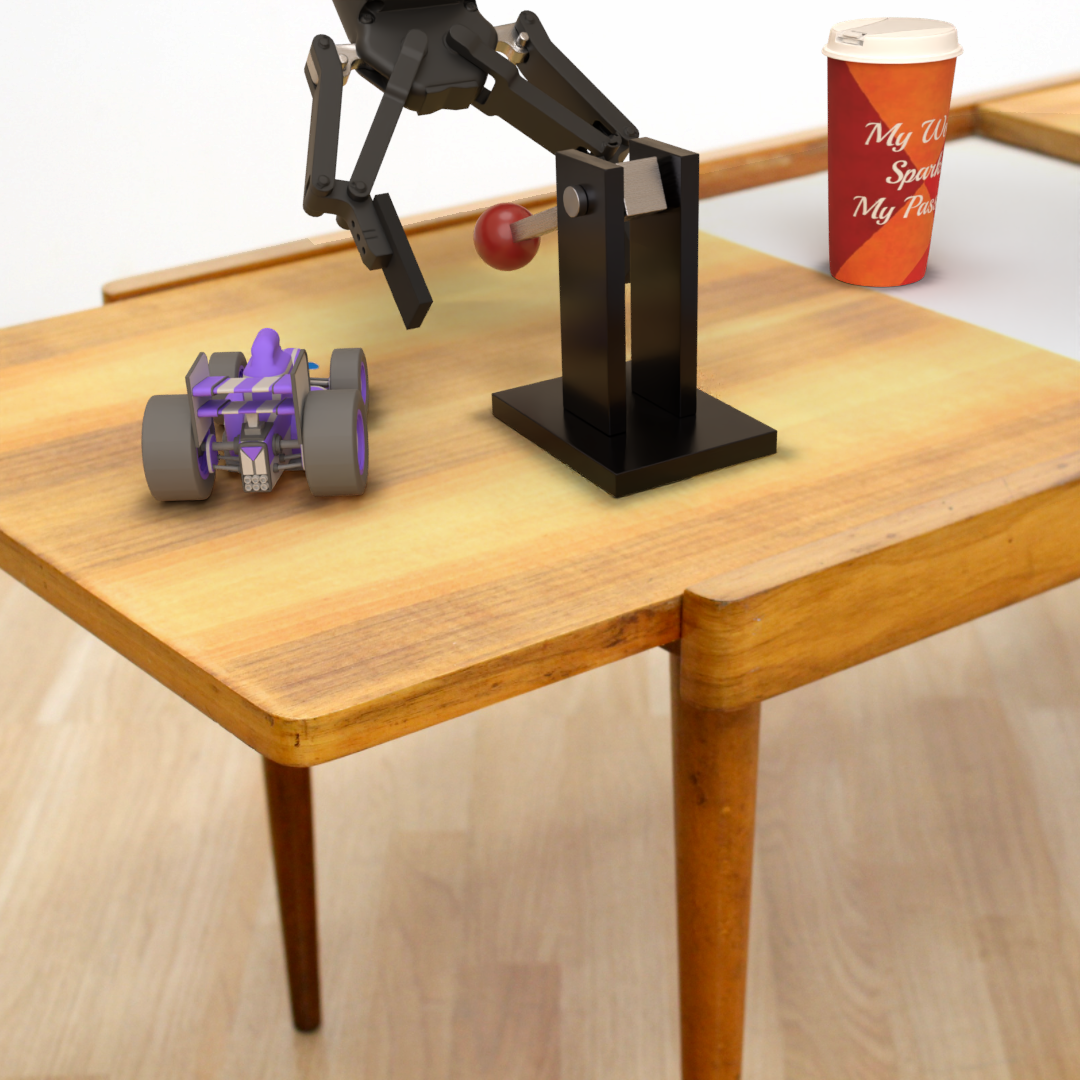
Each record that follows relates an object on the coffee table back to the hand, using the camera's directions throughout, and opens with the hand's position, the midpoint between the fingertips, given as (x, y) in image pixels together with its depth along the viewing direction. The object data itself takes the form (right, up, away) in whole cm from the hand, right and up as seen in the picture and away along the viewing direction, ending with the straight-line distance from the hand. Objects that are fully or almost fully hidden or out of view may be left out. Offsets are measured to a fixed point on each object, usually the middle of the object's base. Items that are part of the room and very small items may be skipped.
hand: (531, 293), depth 82 cm
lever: (+2, +1, -5) cm, 5 cm away
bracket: (+5, -8, -5) cm, 11 cm away
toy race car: (-12, -9, -6) cm, 16 cm away
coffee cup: (+22, +4, +16) cm, 28 cm away
